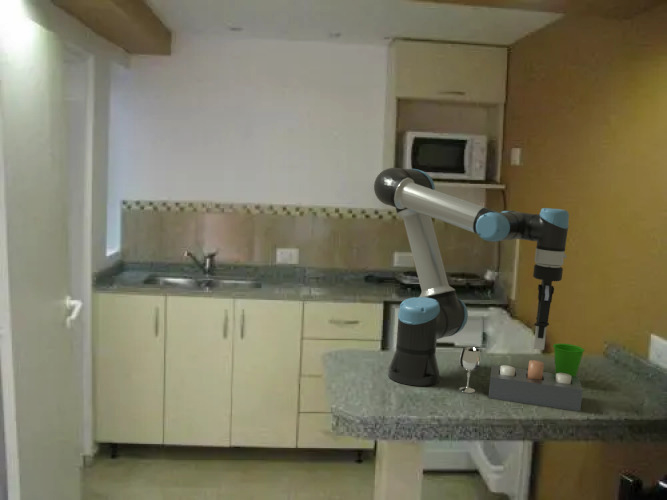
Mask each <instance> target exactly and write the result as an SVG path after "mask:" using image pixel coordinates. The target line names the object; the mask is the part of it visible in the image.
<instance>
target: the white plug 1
mask: <svg viewBox="0 0 667 500" xmlns="http://www.w3.org/2000/svg"><path fill="white" fill-rule="evenodd" d="M500 366H501V368H500V374H501V375H508V376H514V375H515V368H516V367H515V366H511V365H500Z"/></svg>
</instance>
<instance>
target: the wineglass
mask: <svg viewBox="0 0 667 500" xmlns="http://www.w3.org/2000/svg"><path fill="white" fill-rule="evenodd" d="M459 366H460V367H461V369H463V370H464V371H466V378H467V379H466V385H465V386H462V387H459V391H460V392H464V393H467V394H468V393H469V394H473V393H475V392H476V390H475V389H474V388H472V387H470V385H469V384H470V378H471V372H475V371H477V370H478V369H479V368H480V366H481V352H480V349H479V348H476V347H472V346H465V347H462V349H461V352H460V356H459Z"/></svg>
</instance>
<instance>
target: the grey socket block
mask: <svg viewBox="0 0 667 500" xmlns="http://www.w3.org/2000/svg"><path fill="white" fill-rule="evenodd" d="M501 366H502V365H495V364H491V366H490V367H491V369H490V379H489V389H488V398H489V399H493V400H494V399H495V400H500V401H507V402H514V403H522V404H526V405H527V404H528V405H533V404H534V406H540V405H541V407H546V406H548V407H547V408H553V409H561V410H567V411H568V410H569V411H573V412H574V411H575V412H581V406H582V399H583V392H584V390H583V387H582V384H581V380H580V378H579V376H577V375H576V376H571V384H565V383H558V382H555V380H556V373H552V372H544V371H543V377H542V380H537V379H530V378H527V376H528V369H524V368H517V367H514V368H515V375H514V376H508V375H501V374H500V368H501Z"/></svg>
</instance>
